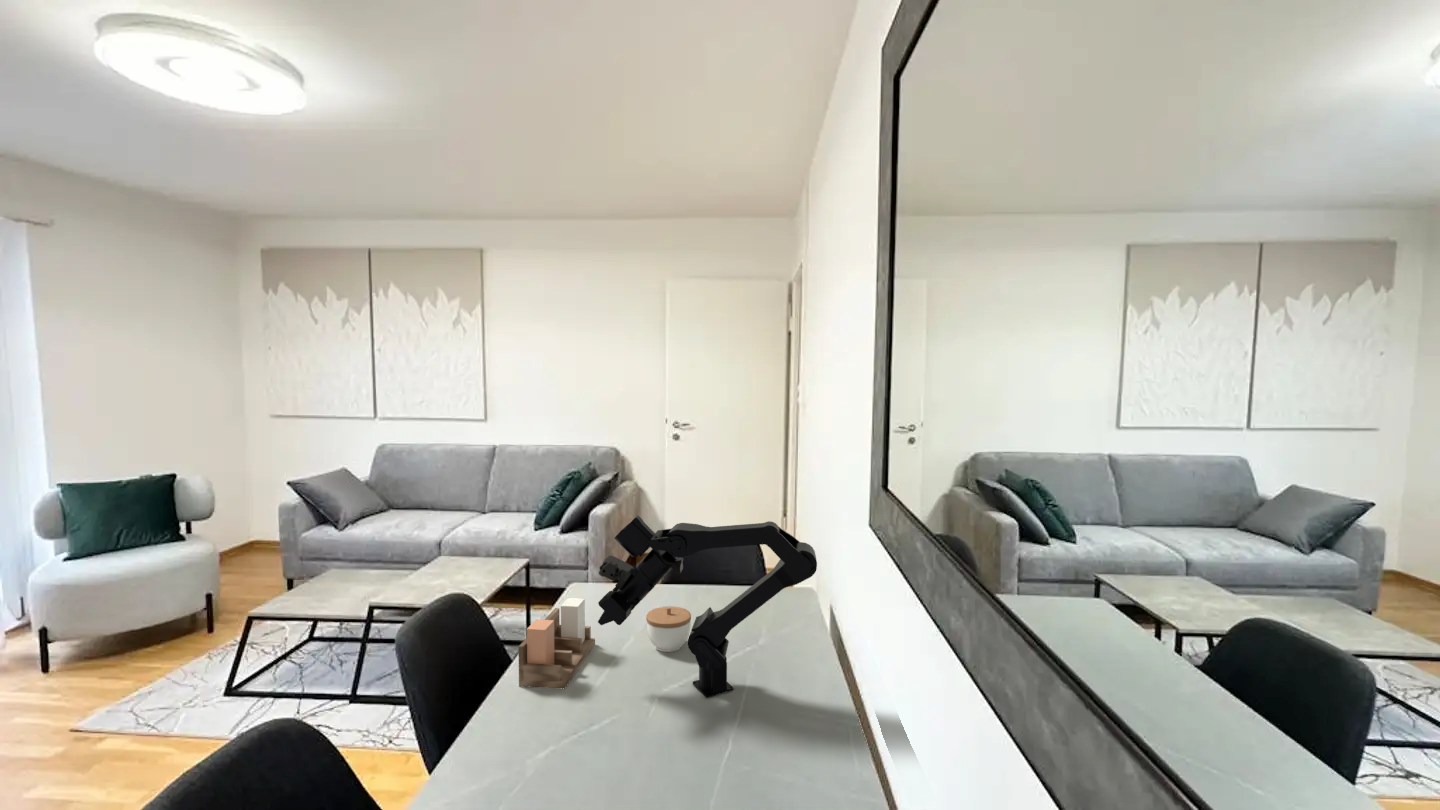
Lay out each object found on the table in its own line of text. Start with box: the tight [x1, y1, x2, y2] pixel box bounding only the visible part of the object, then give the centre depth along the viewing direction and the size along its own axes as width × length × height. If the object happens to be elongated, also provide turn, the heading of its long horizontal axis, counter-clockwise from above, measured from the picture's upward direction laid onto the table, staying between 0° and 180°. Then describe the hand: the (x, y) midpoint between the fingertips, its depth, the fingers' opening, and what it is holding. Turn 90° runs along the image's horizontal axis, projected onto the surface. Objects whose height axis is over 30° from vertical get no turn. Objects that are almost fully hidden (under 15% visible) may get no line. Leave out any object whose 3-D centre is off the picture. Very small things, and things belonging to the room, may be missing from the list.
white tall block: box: [560, 597, 586, 643], centre depth 141 cm, size 4×5×10 cm
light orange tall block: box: [526, 618, 554, 665], centre depth 129 cm, size 4×5×10 cm
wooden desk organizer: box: [518, 607, 596, 690], centre depth 135 cm, size 10×21×8 cm, turn 174°
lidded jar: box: [645, 605, 692, 653], centre depth 144 cm, size 11×11×9 cm
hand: (599, 623), depth 127 cm, fingers closed
